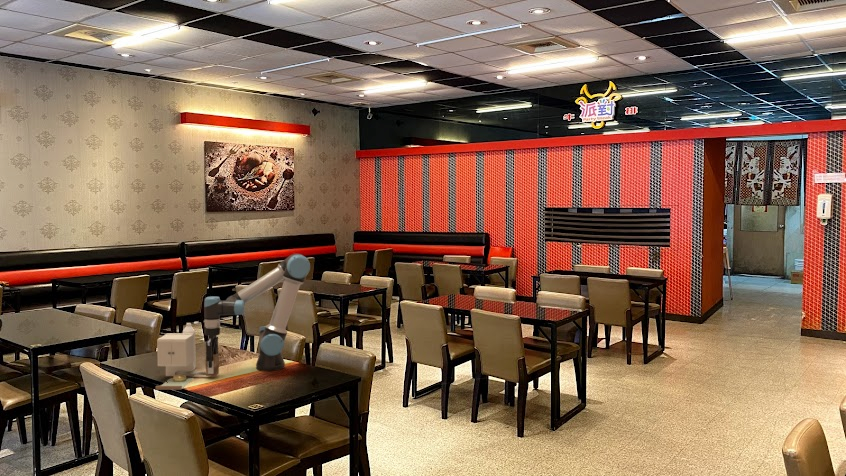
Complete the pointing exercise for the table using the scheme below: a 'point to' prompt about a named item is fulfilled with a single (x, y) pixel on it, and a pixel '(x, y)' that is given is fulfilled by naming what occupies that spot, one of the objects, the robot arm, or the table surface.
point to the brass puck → (179, 378)
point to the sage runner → (174, 384)
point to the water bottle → (190, 330)
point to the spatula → (216, 368)
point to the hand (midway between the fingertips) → (212, 372)
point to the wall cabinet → (176, 352)
